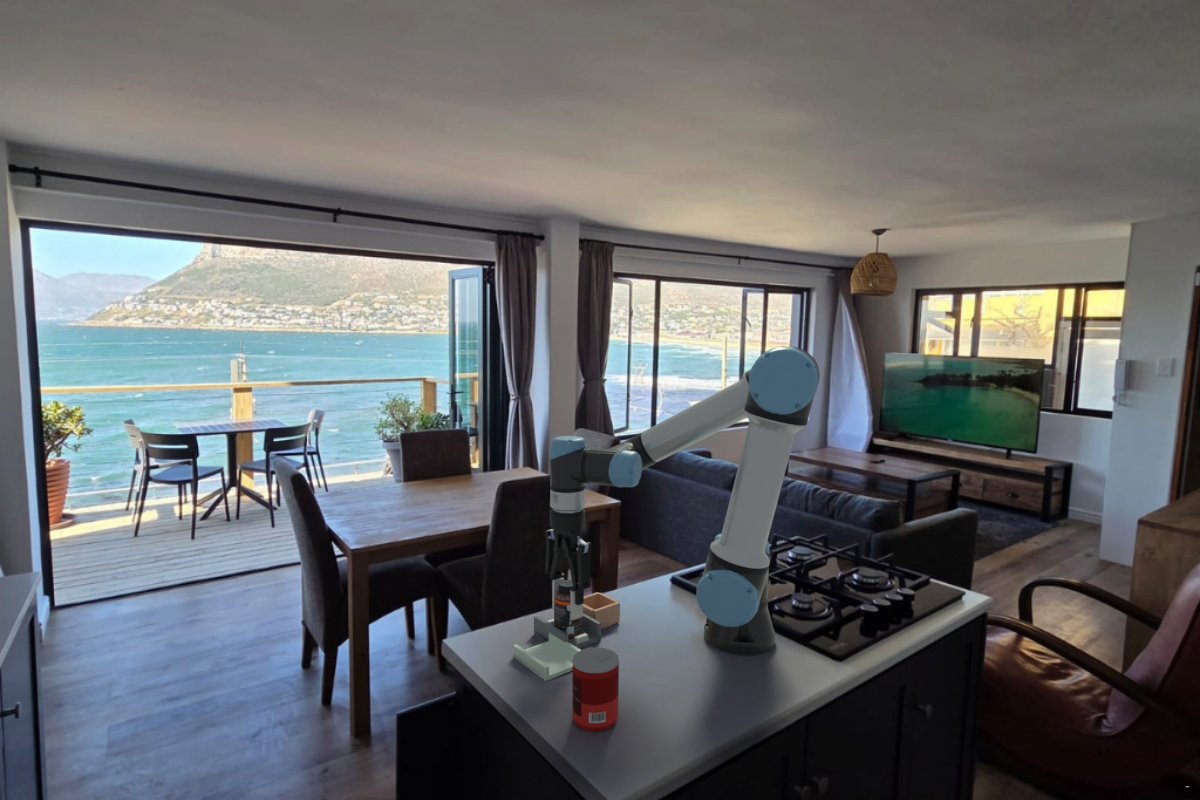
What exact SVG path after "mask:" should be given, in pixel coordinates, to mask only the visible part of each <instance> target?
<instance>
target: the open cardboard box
mask: <svg viewBox="0 0 1200 800" xmlns="http://www.w3.org/2000/svg"><path fill="white" fill-rule="evenodd" d="M583 613H584V614H586V615H588V616H589V617H591V618H593V619H595V620H597V621H599V622H600V623H601V630H603V629H607V628H609V627H611V626H613V625H614V624H617V623H619V622H620V621H621V617H620V615H621V614H620V613H621V603H620V601H619V600H616V599H615V598H613V597H611V596H608V595H607V594H605V593H603V592H598V591H597V592H593V593H590V594H589V595H584V602H583Z"/></svg>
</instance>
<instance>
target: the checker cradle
mask: <svg viewBox="0 0 1200 800" xmlns="http://www.w3.org/2000/svg"><path fill="white" fill-rule="evenodd" d="M549 633H551V634H553V635H554V636H556V637H557V638H559V639H561V640H562V641H564V642H567V641H568V642H569V643H571V644H572V645H574V646H576V647H577V648H579V649H580V650H581V649H582V648H583V649H584V648H585V647H588V646H590V645H593V644H596V643H598V642H600V641H602V636H601V635H602V629H601V623H600V622H599V621H597V620H595V619H593V618H591V617H589V616H588V615H586V614H584V613H583V617H581V632H580V634H579V635H578V636H576V637H573V638H568V634H566V633H565V632H563V631H561V630H560V629H558V628H556V627H555V626H554V618H551V619H549V620H544V619H543V618H541V617H539V616H538V615H534V616H533V634H534V636H536V637H538V638H539V639H541V640H543V641H544V642H545V641H546V642H547V641H549Z"/></svg>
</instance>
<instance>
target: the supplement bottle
mask: <svg viewBox="0 0 1200 800" xmlns="http://www.w3.org/2000/svg"><path fill="white" fill-rule="evenodd" d="M571 588H573V584H572V579H564V580H563V581H561V582H559V590H558V591H557V592H556V593H555V596H554V609H553V613H554V614H553V619H554V626H555V627H556V628H558V629H560V630H561V631H563V632H565V633H566V634H568V638H573V637H576V636H578V635H579V634H580V632H581V617H580V618H577V619H574V620H572V619H570V604H571Z"/></svg>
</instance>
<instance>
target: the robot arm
mask: <svg viewBox="0 0 1200 800" xmlns="http://www.w3.org/2000/svg"><path fill="white" fill-rule="evenodd" d="M820 377H821V374H820V368H819V365H818V363H817V361H816V359H815V358H814V357H813V356H812V355H811V354H810V353H809V352H807V351H806V350H805V349H803V348H800V347H795V346H784V345H781V346H776V347H772V348H770V349H768V350H767V351H765V352H763V353H762V354H761V355H760V356H758V358H757V359H755V361H754V363H753V364H752V366H751V367H750V369H748V370H746V371H744V372H743V374H742V377H741V379H740V380H738V381H737V382H735V383H733V384H731V385H729V386H727V387H725V388H723V389H721V390H719V391H718V392H715V393H714V394H712V395H710V396H708V397H706V398H705V399H702V400H700V401H699V402H696V403H695V404H693V405H691V406H688V407H687V408H685V409H683V410H681V411H680V412H677V413H676V414H674V415H672V416H671V417H668V418H667V419H665V420H663V421H661V422H659V423H657V424H655V425H653V426H651V427H650V428H647V429H646V430H644V431H642V432H641V433H638V434H636V435H634V436H633V437H632V436H631V438H629V439H626V440H625V441H623V442H621V443H618V444H616V445H615V446H612V447H610V448H593V447H587V444H586V440H585V438H584V437H582V436H577V435H561V436H556V437H554V438H553V439H552V440H551V441H550V446H549V447H550V448H549V449H550V450H549V458H548V460H549V476H550V478H549V481H550V482H549V483H550V484H549V489H550V490H549V491H550V493H549V494H550V497H549V498H550V499H549V507H550V508H551V509H550V510H549V526H550V527H551V529H548V530H547V529H546V530H545V531H544V534H545V562H544V563H545V565H544V566H545V567H544V572H545V574H547V575H549V578H550V579H551V592H552V597H551V598H552V602H551V603H552V604H551V605H552V607H551V609H552V610H554V596H555V593H556V592H557V591H558V590H559V582H561V581H563V580H565V577H563V576H565V573H564V572H563V571H564V566H565V563H566V559H567V561H568V565H569V572H570V577H571V580H572V584H573V588H571V604H570V619H572V620H574V619H577V618H580V617H583V602H584V596H585V594H584V593H585V590H586V589H590V588H591V587H592V585H591V584H592V583H591V582H592V579H591V577H592V576H591V548H592V543H591V542H590V541H588V542H586V541H584V540H583V535H582V529H583V528H584V527H585V525H586V511H585V509H584V508H585V507H586V484H587V485H589V484H590V485H600V486H608V487H609V486H610V487H617V488H634V487H636V486H638V485H639V483H640V480H641V477H642V473H643V472H642V471H643V470H645V469H647V468H649V467H651V466H654V465H655V464H656V463H658V462H661V461H662V460H664V459H667V458H668V457H670V456H673V455H674V454H676V453H679V452H680V451H683V450H685V449H687V448H688V447H691V446H693V445H695V444H697V443H698V442H700V441H703V440H705V439H707V438H708V437H710V436H713V435H714V434H717V433H719V432H720V431H722V430H725V429H727V428H729V427H731V426H732V425H734V424H737V423H739V422H741V421H743V420H745V419H747V420H748V421H749V423H748V427H747V430H746V435H745V439H744V442H743V447H742V450H741V455H740V459H739V462H738V466H737V471H736V475H735V478H734V483H733V486H732V490H731V495H730V499H729V503H728V506H727V510H726V514H725V518H724V522H723V526H722V527H723V528H722V530H721V533H719V534H717V535H715V537H714V541H711V542H710V545H709V551H708V554H707V558H706V562H705V567H704V570H703V572H702V575H701V576H700V578H699V580H698V582H697V585H696V596H695V597H696V601H697V603H698V606H699V608H700V610H701V611H702V613H703V614H704V615H705V617H706V619H705V622H704V625H703V627H704V628H703V629H704V630H703V637H704V640H705V641H706V642H707V644H709V645H710V646H712V647H714V648H715V649H717V650H720V651H723V652H726V653H729V654H735V655H740V656H741V655H742V656H743V655H744V656H745V655H746V656H751V655H752V656H753V655H759V654H760V655H761V654H764V653H767V652H769V651H770V650H772V649H773V648H772V646H773V645H774V646H775V644H774V642H775V643H776V641H775V640H776V639H775V638H776V632H775V629H774V626H773V622H772V619H771V618H772V617H771V614H770V611H769V608H768V603H769V602H768V599H769V570H770V569H769V567H770V563H771V560H770V555H771V551H770V542H769V541H768V539H769V535H770V532H771V528H772V524H773V520H774V516H775V512H776V509H777V505H778V501H779V497H780V493H781V489H782V485H783V483H784V478H785V476H786V475H785V474H786V472H787V471H786V470H787V468H788V463H789V459H790V456H791V451H792V447H793V445H794V440H795V436H796V434H797V433H798V432H799V431H800V430H803V429H805V428H806V427H807V426H808V420H809V418H810V414H811V410H812V406H813V402H814V399H815V395H816V393H817V390H818V387H819V384H820ZM774 646H773V647H774ZM769 649H770V650H769ZM768 650H769V651H768ZM766 651H767V652H766Z"/></svg>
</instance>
